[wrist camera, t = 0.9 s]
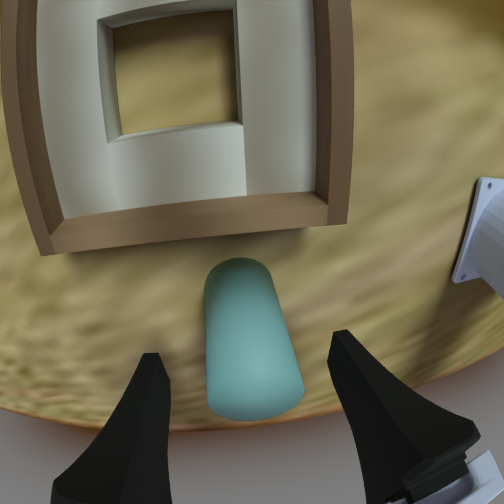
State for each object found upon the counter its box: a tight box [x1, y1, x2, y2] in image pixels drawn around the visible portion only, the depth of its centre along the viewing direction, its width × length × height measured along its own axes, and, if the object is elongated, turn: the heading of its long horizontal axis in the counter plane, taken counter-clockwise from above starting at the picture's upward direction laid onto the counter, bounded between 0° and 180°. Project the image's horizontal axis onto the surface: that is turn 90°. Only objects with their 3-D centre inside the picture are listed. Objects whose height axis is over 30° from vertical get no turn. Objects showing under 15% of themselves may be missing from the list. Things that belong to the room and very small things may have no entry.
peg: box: [205, 258, 305, 421], centre depth 13 cm, size 4×4×7 cm
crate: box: [0, 0, 354, 256], centre depth 8 cm, size 12×14×4 cm
